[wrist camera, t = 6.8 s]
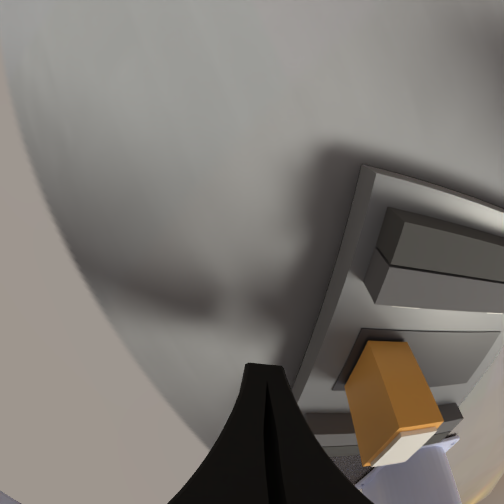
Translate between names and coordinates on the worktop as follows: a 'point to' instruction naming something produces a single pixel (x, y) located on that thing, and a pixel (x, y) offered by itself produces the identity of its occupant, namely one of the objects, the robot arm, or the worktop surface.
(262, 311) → the worktop surface
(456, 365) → the panel
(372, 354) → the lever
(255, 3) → the worktop surface
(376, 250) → the pair of grey bars
